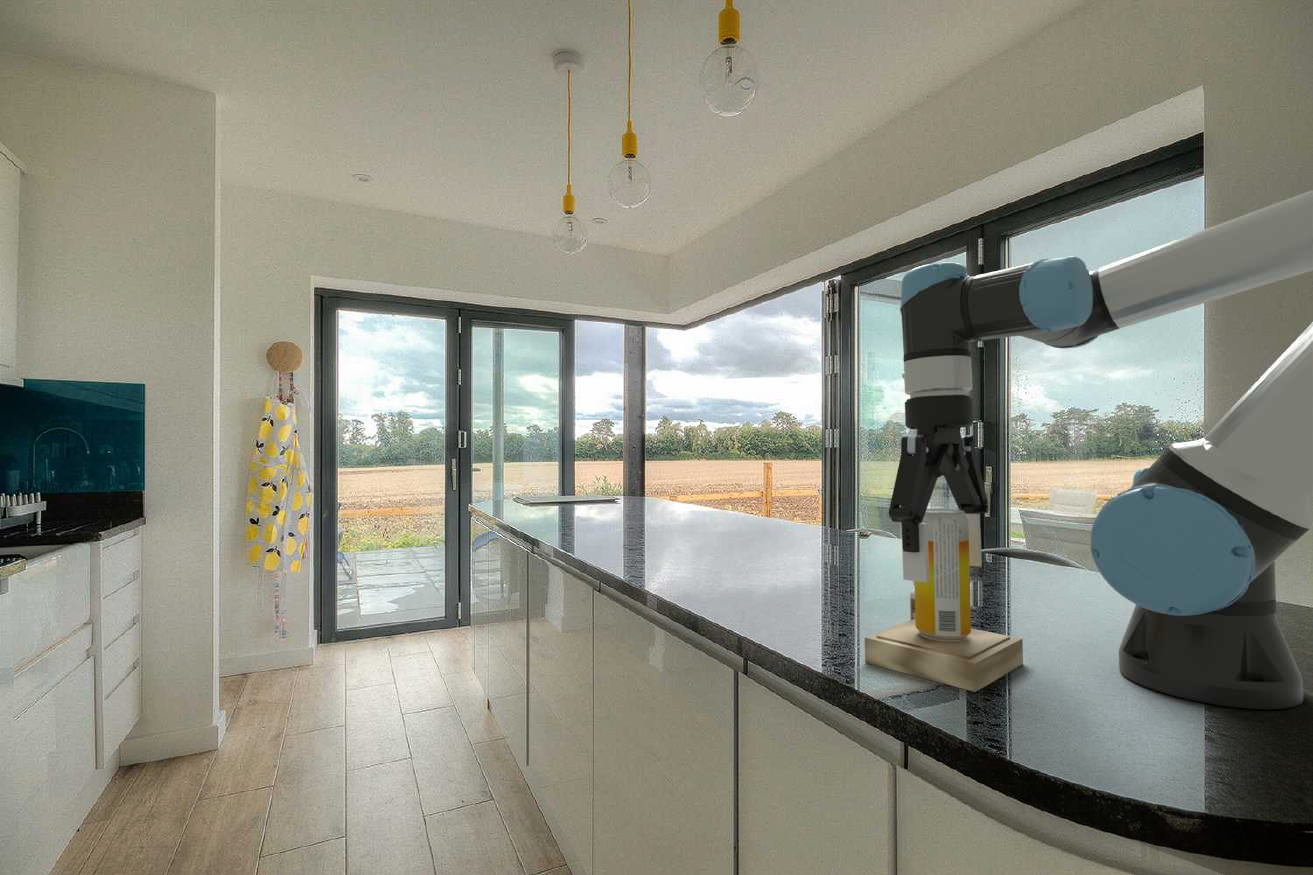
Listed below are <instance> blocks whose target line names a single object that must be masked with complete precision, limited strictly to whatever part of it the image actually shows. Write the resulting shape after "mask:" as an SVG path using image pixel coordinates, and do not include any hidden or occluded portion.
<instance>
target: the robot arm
mask: <svg viewBox="0 0 1313 875" xmlns="http://www.w3.org/2000/svg"><path fill="white" fill-rule="evenodd" d="M1312 271H1313V189H1311V190H1309V191H1306V192H1304V193H1301V194H1298V195H1295V196H1293V197H1290V198H1286V199H1283V200H1281V201H1279V202H1276V203H1273V204H1271V205H1268V206H1265V207H1262V208H1259V209H1257V210H1254V211H1251V212H1249V213H1246V214H1243V215H1241V216H1240V215H1239V216H1237V217H1235V218H1233V219H1229V220H1227V221H1224V222H1221V223H1219V224H1216V225H1213V226H1211V227H1208V228H1206V229H1203V230H1200V231H1197V232H1194V233H1191V234H1189V235H1186V236H1184V237H1181V238H1179V239H1176V240H1173V241H1170V242H1167V243H1164V244H1162V245H1158V246H1156V247H1154V248H1151V249H1148V250H1146V251H1142V252H1140V253H1138V254H1134V255H1132V256H1128V257H1126V258H1124V259H1121V260H1119V261H1116V262H1112V263H1110V264H1108V265H1105V266H1104V265H1103V266H1102V267H1100V268H1098V269H1095V270H1093V271H1092V270H1091V271H1090V270H1088V268H1087V266H1086V263H1085V262H1084V260H1082V259H1081V258H1079V257H1076V256H1072V255H1071V256H1070V255H1069V256H1065V257H1059V258H1058V257H1057V258H1052V259H1051V258H1043V259H1038V260H1037V261H1033V262H1032V263H1027V264H1023V265H1018V266H1014V267H1008V268H1006V269H1005V268H1003V269H1001V270H996V271H991V272H987V273H982V274H977V275H974V276H972V275H969V274H968V268H966V266H965V265H964V264H961V263H959V262H949V261H946V262H940V263H939V262H938V263H929V264H924V265H921V266H918V267H914V268H913V269H911V270H909V271H908V272H906V274H904V276H903V277H902V280H901V292H900V293H901V295H900V296H901V297H900V299H901V300H900V303H901V304H900V308H899V312H900V314H901V315H900V316H901V328H902V345H903V349H902V350H903V372H902V377H901V378H902V379H903V380H904V381H903V382H904V393H905V395H907V396H909V398H907V399H906V401H904V422H905V427H906V428H907V429H908V430H916V435H915V434H913V435H903V436H901V440H900V441H901V443H900V445H901V446H900V458H899V464H898V467H897V473H896V478H895V480H894V481H895V482H894V485H893V486H894V487H893V491H892V495H891V500H890V504H889V509H888V516H889V518H891V521H892V522H893V523H901V524H900V525H901V547H902V549H901V550H902V551H901V552H902V553H901V554H902V575H903V576H902V577H903V578H902V579H903V580H904V581H910V582H913V581H917V582H925V583H927V582H930V580H929V554H928V527H927V523H922V521H923V518H924V515H925V512H926V509H928V506H929V503H930V501H931V497H932V495H933V492H934V489H935V486H936V484H937V480H938V478H941V477H942V476H943V477H944V479H945V481H946V483H947V485H948V489H949V490H950V492H951V495H952V497H953V499H954V501H955V504H956V505H957V507H958V510H962V511H964V512H965V515H966V517H967V519H968V523H969V567H970V566H971V567H982V566H983V563H982V561H983V560H982V558H983V557H982V536H981V514H988V512H989V500H988V496H987V492H986V488H985V484H984V481H983V476H982V473H981V469H980V465H979V461H978V457H977V453H976V445H975V437H974V435H972V434H971V435H969V434H968V435H962V433H961V429H962V428H964V429H965V428H969V427H972V426H973V424H974V410H973V409H974V406H973V405H974V404H973V398H972V397H971V396H970V395H968V392H971V391H972V390H973V389H974V388H973V387H974V386H973V374H972V373H973V372H972V371H973V370H972V354H971V345H972V344H971V342H982V341H987V340H995V339H1001V338H1002V339H1003V338H1004V339H1005V338H1011V337H1024V338H1026V339H1030V340H1031V341H1032V340H1033V341H1037V342H1040V343H1043V344H1045V345H1046V346H1050V347H1053V348H1057V349H1075V348H1080V347H1083V346H1086V345H1089V344H1091V343H1092V342H1093V341H1094V340H1096V339H1098V337H1099V336H1101V335H1104V334H1108V333H1111V332H1115V331H1116V330H1120V329H1123V328H1125V327H1129V326H1133V325H1135V324H1139V323H1142V322H1145V321H1148V320H1152V319H1155V318H1158V317H1163V316H1166V315H1169V314H1172V313H1176V312H1179V311H1182V310H1186V309H1189V308H1192V307H1196V306H1200V305H1202V304H1205V303H1210V302H1212V301H1216V300H1219V299H1223V298H1225V297H1229V296H1233V295H1235V294H1238V293H1242V292H1246V291H1249V290H1252V289H1257V288H1259V287H1263V286H1265V285H1269V284H1272V283H1276V282H1278V281H1279V282H1280V281H1282V280H1285V279H1289V278H1293V277H1296V276H1299V275H1302V274H1307V273H1309V272H1312ZM1133 475H1134V476H1133V478H1132V480H1133V481H1132V486H1131V487H1129V489H1127V490H1125V491H1121V492H1119V493H1117V495H1116V496H1113V497H1111V498H1110V499H1108V500H1107V502H1105V504H1104V505H1103V506H1102V507H1101V509H1100V510H1099V512H1098V514H1096V517H1095V519H1094V521H1093V523H1092V525H1091V526H1092V527H1091V531H1090V536H1089V546H1090V550H1091V556H1092V559H1093V561H1094V564H1095V566H1096V568H1097V570H1098V572H1099V573H1100V575H1101V577H1102V578H1103V579H1104V580H1105V582H1106V583H1107V584H1108V585H1109V586H1110V587H1111V588H1112V589H1113V590H1114V591H1115V592H1117V593H1118V594H1119V595H1120V596H1121V597H1124V598H1125V600H1128V602H1129V601H1130V602H1131V603H1133V604H1135V606H1134V609H1133V611H1132V614H1131V617H1130V619H1129V622H1128V624H1127V627H1126V629H1125V632H1124V635H1123V638H1122V641H1121V642H1120V646H1119V648H1118V670H1119V671H1120V673H1121V674H1122V675H1123V676H1124V677H1125V678H1127V679H1128V680H1130V681H1132V682H1134V683H1136V684H1139V685H1141V686H1143V687H1144V688H1148V689H1152V690H1153V691H1158V692H1161V693H1163V694H1167V695H1171V696H1174V697H1177V698H1181V699H1186V700H1190V701H1195V702H1200V703H1206V704H1209V705H1210V704H1211V705H1218V706H1224V707H1231V708H1241V709H1252V710H1253V709H1255V710H1279V709H1290V708H1294V707H1296V706H1297V707H1298V706H1300V705H1301V704H1303V702H1304V683H1303V682H1304V681H1303V676H1302V674H1301V672H1300V669H1299V666H1298V665H1297V663H1296V660H1295V659H1294V656H1293V654H1292V651H1291V649H1290V647H1289V645H1288V643H1287V641H1286V638H1285V635H1284V634H1283V631H1282V628H1281V626H1280V625H1279V621H1278V617H1277V616H1278V615H1277V590H1276V562H1275V561H1276V560H1277V559H1278V558H1280V556H1282V555H1283V553H1284V554H1285V552H1286V551H1287V550H1288V549H1289V548H1290V547H1292V546H1293V545H1294V544H1295V543H1296V542H1297V541H1298V540H1300V538H1302V536H1304V535H1305V534H1306V533H1307V532H1308V531H1309V530H1310V529H1311V528H1312V527H1313V515H1312V512H1311V508H1310V504H1311V498H1313V322H1311V324H1309V325H1308V326H1307V328H1306V329H1305V330H1303V332H1302V333H1301V334H1300V335H1299V336H1298V337H1297V338H1296V340H1294V342H1292V343H1291V344H1290V346H1289V347H1288V348H1286V350H1285V351H1284V352H1283V353H1282V354H1281V355H1280V356H1279V357H1278V358H1277V359H1276V360H1275V361H1274V362H1273V364H1271V366H1270V367H1269V368H1268V369H1266V371H1265V372H1264V373H1263V374H1262V375H1261V376H1260V377H1259V379H1257V380H1256V382H1255V383H1253V385H1252V386H1251V387H1250V388H1249V389H1248V390H1247V391H1246V392H1245V393H1244V394H1243V395H1242V396H1241V397H1240V399H1238V400H1237V402H1236V403H1235V404H1234V405H1233V406H1231V408H1230V409H1229V410H1228V411H1227V412H1226V413H1225V414H1224V415H1223V417H1221V419H1219V421H1217V423H1216V424H1215V425H1214V426H1213V427H1212V428H1211V429H1210V430H1209V431H1208V432H1207V433H1206V434H1205V435H1204V437H1202V438H1200V439H1197V440H1190V441H1182V442H1175V443H1172V444H1170V445H1169V446H1168V448H1166V450H1165V451H1164V452H1163V453H1162V454H1161V455H1160V456H1159V457H1158V458H1157V459H1156V460H1155V461H1154V462H1153V463H1152V464H1151V466H1150V467H1146V468H1141V469H1139V470H1138V471H1136V472H1135V473H1134V474H1133Z"/></svg>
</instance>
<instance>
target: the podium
mask: <svg viewBox="0 0 1313 875" xmlns="http://www.w3.org/2000/svg"><path fill="white" fill-rule="evenodd" d="M1023 642H1024V641H1023V638H1021V637H1017V636H1012V635H1011V636H1010V635H1005V634H1000V633H996V632H991V631H985V630H981V629H975V628H971V633H970V634H969V635H968V636H967V637H966V639H965V640H963V641H959V642H942V641H935V640H931V639H927V638H925V637H923V636H922V635H921V634H920V632H919V631H918V629H917V628H916V622H915V619H914V620H911V621H910V620H909V621H906V622H902V623H901V624H898V625H895V626H893V627H890V628H887V629H885V630H884V629H883V630H881V631H879V632H876V633H873V634H871V635H868V636H864V656H865V657H864V663H866V664H870V665H873V666H878V667H881V668H884V669H888V670H892V671H895V672H900V673H903V674H906V675H911V676H914V677H918V678H921V679H926V680H929V681H933V682H937V683H941V684H944V685H948V686H952V687H955V688H960V689H963V690H966V691H970V692H974V693H976V692H977V691H980V690H981V689H983V688H984V687H986V686H988V685H990V684H991V683H994V682H995V681H997V680H998V679H999V678H1002V677H1004V676H1005V675H1007V674H1008V673H1010V672H1012V671H1013V670H1015V669H1017V668H1019V667H1021V666H1023V665H1024V655H1023V654H1024V652H1023V651H1024V649H1023V647H1024V646H1023Z"/></svg>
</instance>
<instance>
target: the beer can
mask: <svg viewBox="0 0 1313 875" xmlns="http://www.w3.org/2000/svg"><path fill="white" fill-rule="evenodd" d="M922 523H927V527H928V554H929V580H930V582H927V583H925V582H917V581H915V586H914V589H915V622H916V628H917V629H918V631H919V632H920V634H921V635H922V636H923V637H925V638H927V639H931V640H935V641H942V642H959V641H963V640H965V639H966V637H967V636H968V635H969V634H970V633H971V629H972V621H971V620H972V618H971V615H972V614H971V574H970V573H971V572H970V566H969V523H968V519H967V517H966V515H965V512H964V511H962V510H959V509H951V508H950V509H949V508H927V509H926V512H925V515H924V518H923V521H922Z"/></svg>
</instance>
